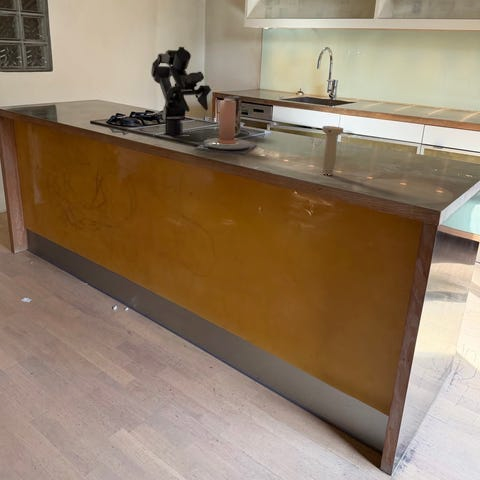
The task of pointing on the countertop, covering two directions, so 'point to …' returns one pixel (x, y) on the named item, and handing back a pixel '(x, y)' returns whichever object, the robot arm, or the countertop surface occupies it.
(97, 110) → the countertop surface
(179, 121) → the robot arm
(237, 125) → the coffee box
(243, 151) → the base
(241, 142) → the turntable disk
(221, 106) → the pink tall cylinder
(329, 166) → the handle
